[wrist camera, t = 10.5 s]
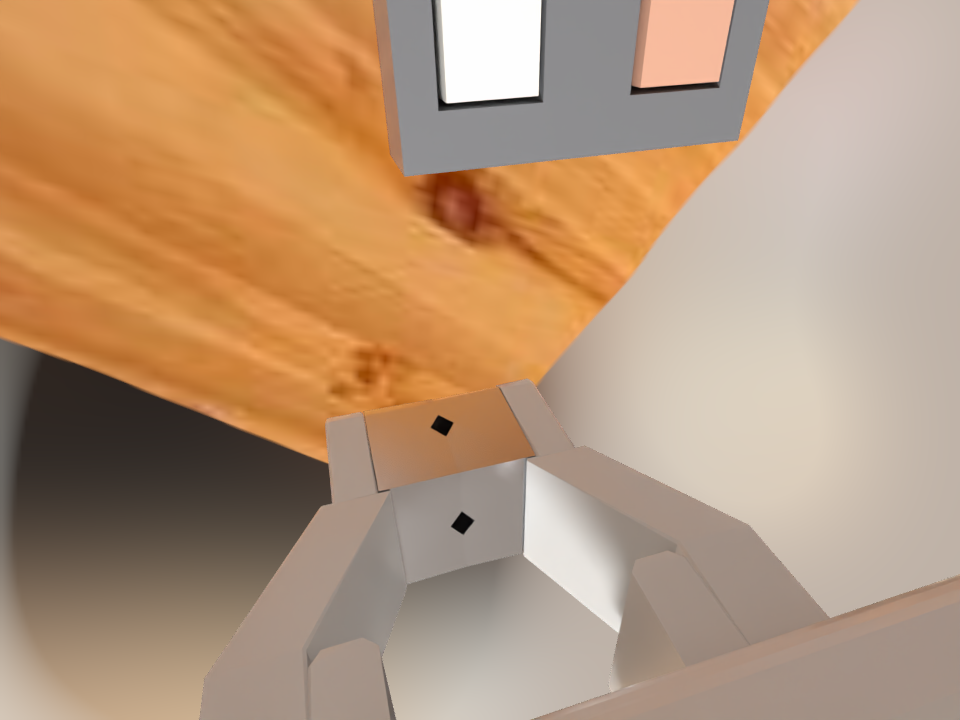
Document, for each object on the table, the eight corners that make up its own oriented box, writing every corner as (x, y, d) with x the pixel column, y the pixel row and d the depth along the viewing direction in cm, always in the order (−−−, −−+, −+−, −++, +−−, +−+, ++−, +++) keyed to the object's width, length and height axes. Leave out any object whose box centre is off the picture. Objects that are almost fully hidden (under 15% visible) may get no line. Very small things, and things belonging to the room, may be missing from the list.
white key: (426, -15, 28) (440, -15, 26) (520, -18, 29) (541, -19, 27) (434, 94, 31) (446, 103, 28) (519, 87, 32) (538, 95, 29)
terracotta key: (624, -22, 30) (654, -22, 28) (704, -24, 31) (739, -25, 29) (614, 80, 33) (640, 87, 31) (688, 75, 34) (718, 81, 32)
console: (361, -99, 27) (374, -114, 23) (730, -99, 32) (794, -111, 28) (390, 154, 34) (404, 176, 30) (691, 124, 39) (738, 140, 35)
